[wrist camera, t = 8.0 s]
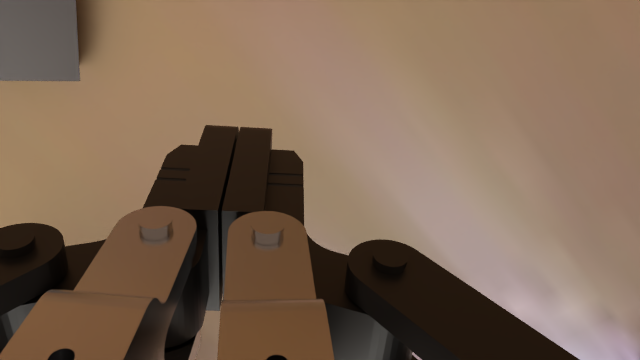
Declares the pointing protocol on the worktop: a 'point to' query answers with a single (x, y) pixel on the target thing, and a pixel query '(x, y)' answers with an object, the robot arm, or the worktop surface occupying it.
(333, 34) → the worktop surface
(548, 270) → the worktop surface
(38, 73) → the domino
